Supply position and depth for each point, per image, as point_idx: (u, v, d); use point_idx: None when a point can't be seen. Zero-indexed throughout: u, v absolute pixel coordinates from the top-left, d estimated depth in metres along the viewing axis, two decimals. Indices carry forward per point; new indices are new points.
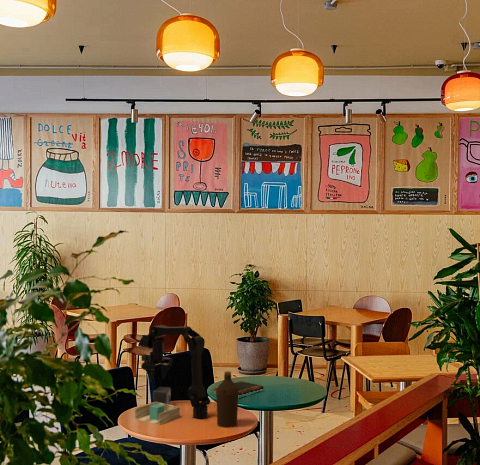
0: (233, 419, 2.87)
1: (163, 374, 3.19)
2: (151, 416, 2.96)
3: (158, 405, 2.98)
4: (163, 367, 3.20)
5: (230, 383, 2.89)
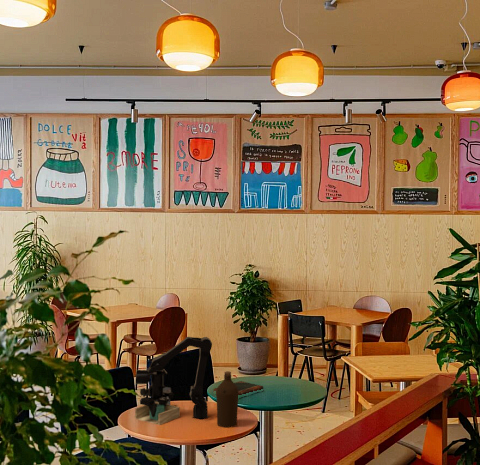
0: (233, 419, 2.87)
1: None
2: (151, 416, 2.96)
3: (158, 405, 2.98)
4: (160, 402, 3.00)
5: (230, 383, 2.89)
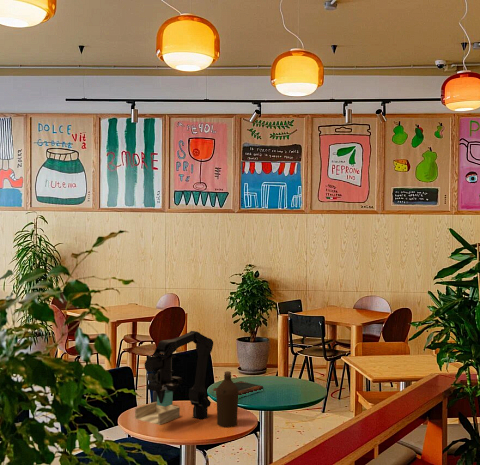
0: (233, 419, 2.87)
1: None
2: (159, 402, 2.81)
3: (166, 391, 2.83)
4: (169, 388, 2.85)
5: (230, 383, 2.89)
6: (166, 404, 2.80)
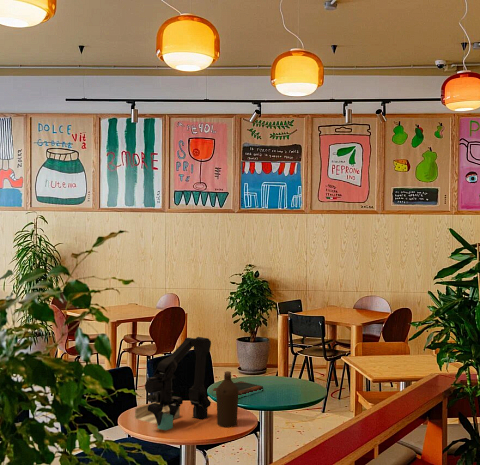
0: (233, 419, 2.87)
1: None
2: (159, 426, 2.81)
3: (166, 415, 2.83)
4: (171, 408, 2.86)
5: (230, 383, 2.89)
6: (166, 428, 2.80)
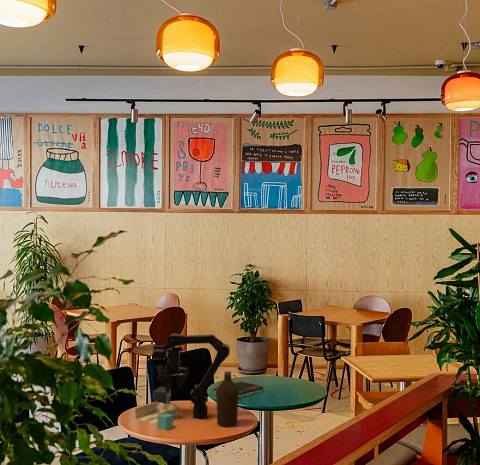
0: (233, 419, 2.87)
1: (179, 385, 3.04)
2: (159, 426, 2.81)
3: (166, 415, 2.83)
4: (179, 377, 3.05)
5: (230, 383, 2.89)
6: (166, 428, 2.80)
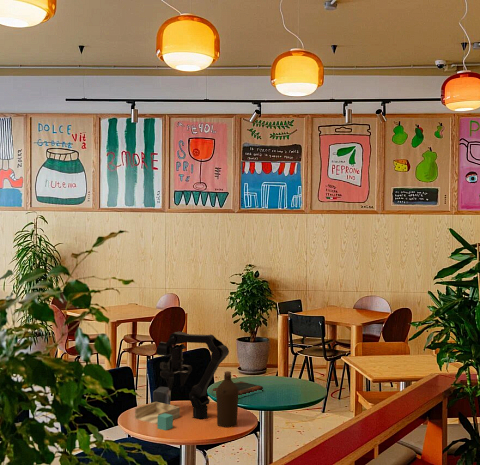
0: (233, 419, 2.87)
1: (182, 382, 3.09)
2: (159, 426, 2.81)
3: (166, 415, 2.83)
4: (182, 375, 3.10)
5: (230, 383, 2.89)
6: (166, 428, 2.80)
